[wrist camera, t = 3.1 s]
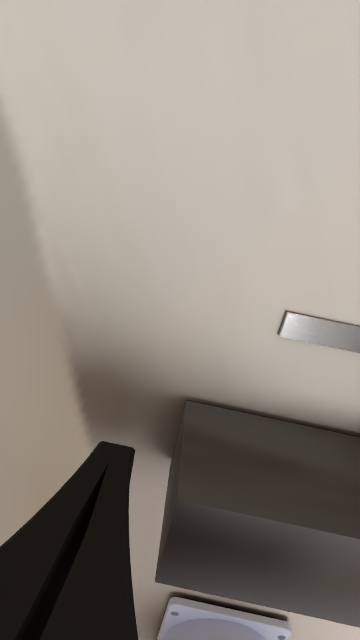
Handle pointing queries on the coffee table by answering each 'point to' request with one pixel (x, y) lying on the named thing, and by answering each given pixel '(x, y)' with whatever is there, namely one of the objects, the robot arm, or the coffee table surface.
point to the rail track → (321, 331)
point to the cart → (264, 514)
